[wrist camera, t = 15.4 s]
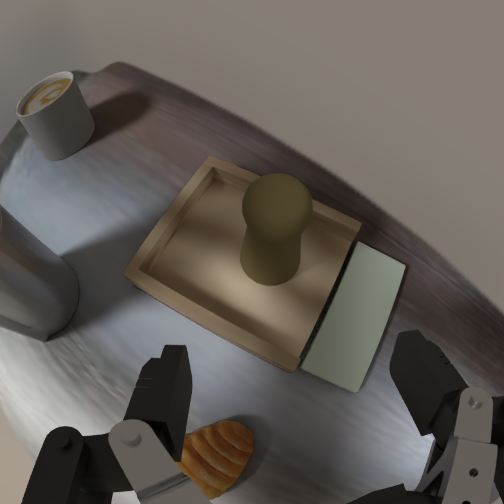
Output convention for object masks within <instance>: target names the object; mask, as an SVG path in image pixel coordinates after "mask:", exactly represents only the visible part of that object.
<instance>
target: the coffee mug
mask: <svg viewBox="0 0 504 504" xmlns="http://www.w3.org/2000/svg"><path fill="white" fill-rule="evenodd" d="M16 114H17V116H18V118H19V119H20V121H21V122H22V124H23V125H24V127H25V129H26V130H27V132H28V133H29V135H30V136H31V138H32V139H33V141H34V142H35V144H36V145H37V146H38V148H39V149H40V151H41V152H42V154H43V155H44V157H45V158H46V159H48V160H51V161H57V160H62V159H65V158H67V157H69V156H71V155H72V154H74V153H76V152H77V151H78V150H80V149H81V148H82V147H83V146H84V145H85V144H86V143H87V142H88V141H89V139H90V138H91V136H92V134H93V132H94V129H95V122H94V120H93V118H92V116H91V113H90V111H89V109H88V107H87V105H86V103H85V100H84V98H83V96H82V94H81V92H80V89H79V87H78V85H77V82H76V80H75V78H74V76H73V74H72V73H71V72H59V73H56V74H53V75H51V76H49V77H47V78H45V79H43V80H41V81H40V82H38V83H37V84H36V85H34V86H33V87H32V88H31V89H30V90H29V91H27V93H26V94H25V95H24V96H23V97H22V99H21V100H20V102H19V103H18V105H17V107H16Z"/></svg>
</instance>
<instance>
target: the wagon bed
mask: <svg viewBox="0 0 504 504" xmlns="http://www.w3.org/2000/svg"><path fill="white" fill-rule="evenodd" d="M260 177H261V176H259V175H257V174H254V173H252V172H250V171H247V170H245V169H242V168H240V167H237V166H235V165H233V164H230V163H228V162H225V161H223V160H220V159H218V158H215V157H212V156H209V157H208V158H207V159H206V161H205V162H204V163H203V164H202V166H201V167H200V168H199V169H198V170H197V172H196V173H195V174H194V175H193V177H192V178H191V179H190V181H189V182H188V183H187V184H186V186H185V187H184V188H183V190H182V191H181V192H180V193H179V195H178V196H177V197H176V199H175V200H174V201H173V203H172V204H171V205H170V207H169V208H168V209H167V211H166V212H165V213H164V215H163V216H162V217H161V219H160V220H159V221H158V223H157V224H156V226H155V227H154V228H153V230H152V231H151V232H150V234H149V235H148V237H147V238H146V240H145V241H144V242H143V244H142V245H141V247H140V248H139V250H138V251H137V252H136V254H135V255H134V257H133V258H132V260H131V261H130V263H129V264H128V266H127V267H126V269H125V270H124V272H123V273H122V274H123V275H124V276H125V277H126V278H127V279H128V280H129V281H130V282H131V283H132V284H133V285H135V286H136V287H138V288H139V289H141V290H142V291H144V292H145V293H147V294H149V295H150V296H152V297H153V298H155V299H157V300H158V301H160V302H161V303H163V304H165V305H166V306H168V307H170V308H171V309H173V310H175V311H176V312H178V313H180V314H181V315H183V316H185V317H186V318H188V319H190V320H191V321H193V322H195V323H197V324H198V325H200V326H202V327H204V328H205V329H207V330H209V331H211V332H212V333H214V334H216V335H218V336H220V337H221V338H223V339H225V340H227V341H229V342H230V343H232V344H234V345H236V346H238V347H240V348H242V349H243V350H245V351H247V352H249V353H251V354H253V355H255V356H257V357H259V358H261V359H263V360H265V361H266V362H268V363H270V364H272V365H274V366H276V367H278V368H280V369H282V370H284V371H287V372H289V373H291V372H295V370H296V368H297V366H298V364H299V362H300V360H301V359H300V358H299V356H300V354H301V352H302V350H303V348H304V346H305V344H306V342H307V340H308V338H309V336H310V334H311V332H312V330H313V328H314V326H315V324H316V322H317V320H318V318H319V316H320V313H321V311H322V309H323V307H324V305H325V303H326V301H327V298H328V296H329V294H330V292H331V290H332V287H333V285H334V283H335V281H336V278H337V276H338V274H339V271H340V269H341V267H342V264H343V262H344V260H345V257H346V255H347V253H348V250H349V248H350V245H351V243H352V241H353V240H354V238H355V237H356V235H357V233H358V232H359V229H360V227H361V224H362V223H361V222H359V221H357V220H355V219H353V218H351V217H349V216H347V215H345V214H343V213H341V212H339V211H337V210H335V209H332V208H330V207H328V206H326V205H324V204H322V203H320V202H318V201H315V200H313V199H312V203H313V214H312V217H311V220H310V223H309V225H308V226H307V228H306V229H305V230H304V232H303V233H302V234H301V256H300V264H299V268H298V271H297V272H296V273H295V275H294V276H293V277H292V278H291V279H290V280H288V281H287V282H285V283H283V284H280V285H276V286H265V285H262V284H259V283H256V282H254V281H253V280H252V279H250V278H249V277H248V276H247V275H246V273H245V272H244V271H243V269H242V266H241V263H240V251H241V247H242V243H243V240H244V236H245V232H246V228H247V224H246V223H245V220H244V217H243V214H242V199H243V197H244V195H245V192H246V190H247V188H248V187H249V186H250V184H251V183H252V182H253V181H254V180H256V179H258V178H260Z"/></svg>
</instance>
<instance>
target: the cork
mask: <svg viewBox="0 0 504 504" xmlns="http://www.w3.org/2000/svg"><path fill="white" fill-rule="evenodd" d="M242 214H243V217H244V220H245V223H246V224H247V228H246V232H245V236H244V240H243V243H242V247H241V251H240V263H241V266H242V269H243V271H244V272H245V273H246V275H247V276H248V277H249V278H250V279H252V280H253V281H254V282H256V283H259V284H262V285H265V286H276V285H280V284H283V283H285V282H287V281H288V280H290V279H291V278H292V277H293V276H294V275H295V273H296V272H297V271H298V268H299V264H300V256H301V234H302V233H303V232H304V230H305V229H306V228H307V226H308V225H309V223H310V220H311V217H312V214H313V203H312V197H311V195H310V193H309V191H308V189H307V188H306V187H305V186H304V185H303V184H302V182H301V181H300V180H298V179H296V178H295V177H293V176H291V175H287V174H284V173H271V174H266V175H263V176H262V177H260V178H258V179H256V180H254V181H253V182H252V183H251V184H250V186H249V187H248V188H247V190H246V192H245V195H244V197H243V199H242Z"/></svg>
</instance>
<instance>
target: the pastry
mask: <svg viewBox="0 0 504 504" xmlns="http://www.w3.org/2000/svg"><path fill="white" fill-rule="evenodd" d="M253 439H254V437H253V434H252V433H251V432H250V431H249V429H248V428H246V427H245V426H243V425H242V424H241V423H239V422H236V421H228V420H221V421H219V422H217V423H215V424H213V425H209V426H204V427H202V428H199V429H198V430H196V431H194V432H192V433H188V434H185V438H184V445H183V451H182V458H181V462H175V463H176V464H177V466H178V467H179V468H180V470H181V471H182V472H183V473H184V474H185V475H188V476H189V477H190V478H191V479H192V481H193V482H194V483H195V484H196V485H197V487H198V488H199V489H200V490H201V491H202V493H203V494H204V495H205V496H206V497H207V499H208V500H212V499H214V498H216V497H218V496H220V495H221V494H222V493H223V492H224V491H225V490H227V489H228V488H229V487H230V486H232V485H233V484H234V483H235V482H236V480H237V479H238V478H239V476H240V474H241V472H242V470H243V469H244V468H245V466H246V463H247V462H248V460H249V458H250V456H251V454H252V453H253Z"/></svg>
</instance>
